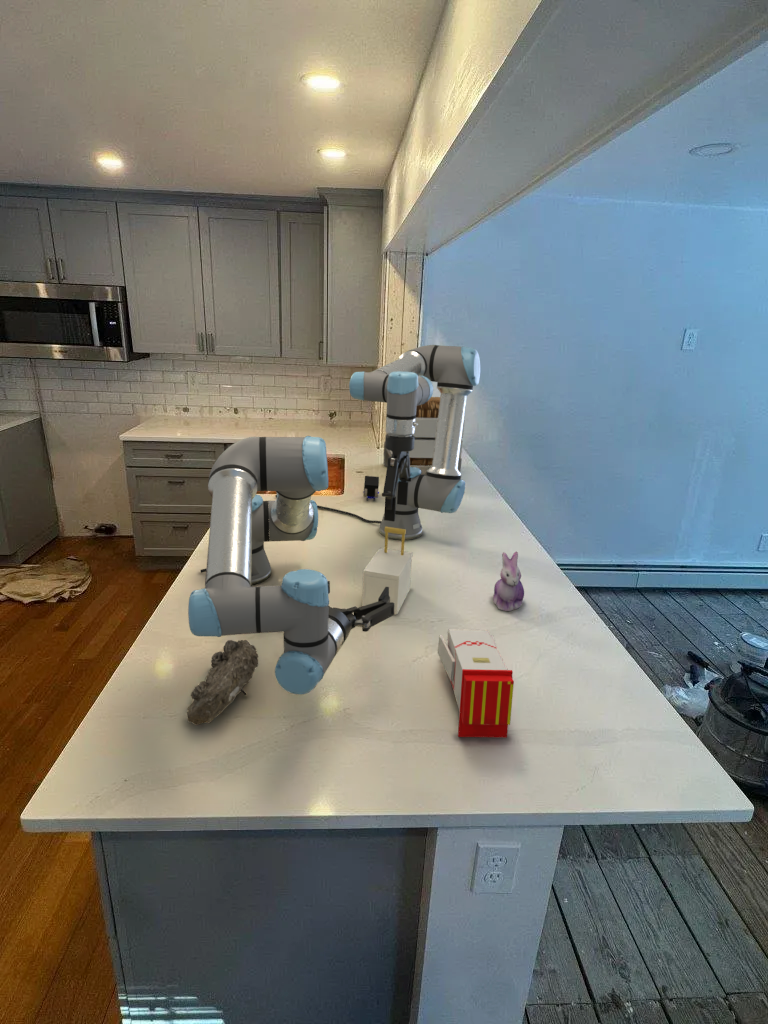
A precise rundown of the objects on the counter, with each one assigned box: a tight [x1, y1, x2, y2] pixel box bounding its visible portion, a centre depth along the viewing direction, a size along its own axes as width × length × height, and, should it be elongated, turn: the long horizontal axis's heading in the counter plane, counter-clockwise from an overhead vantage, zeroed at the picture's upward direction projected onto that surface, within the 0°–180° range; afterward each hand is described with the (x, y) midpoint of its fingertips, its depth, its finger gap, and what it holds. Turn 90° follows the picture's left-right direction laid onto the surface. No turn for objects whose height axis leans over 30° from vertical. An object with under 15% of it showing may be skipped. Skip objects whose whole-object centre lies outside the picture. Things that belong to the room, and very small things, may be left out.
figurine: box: [492, 551, 525, 612], centre depth 152 cm, size 9×10×15 cm
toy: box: [437, 628, 515, 738], centre depth 117 cm, size 12×13×30 cm
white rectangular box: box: [362, 527, 414, 581], centre depth 150 cm, size 16×10×9 cm, turn 165°
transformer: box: [383, 396, 465, 474], centre depth 268 cm, size 34×33×41 cm
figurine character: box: [362, 475, 380, 502], centre depth 236 cm, size 7×8×15 cm
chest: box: [361, 558, 413, 616], centre depth 153 cm, size 15×10×10 cm, turn 165°
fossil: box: [186, 639, 259, 726], centre depth 113 cm, size 22×10×15 cm
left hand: (357, 589), depth 126 cm, fingers open, 13 cm apart
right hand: (396, 512), depth 152 cm, fingers open, 13 cm apart
